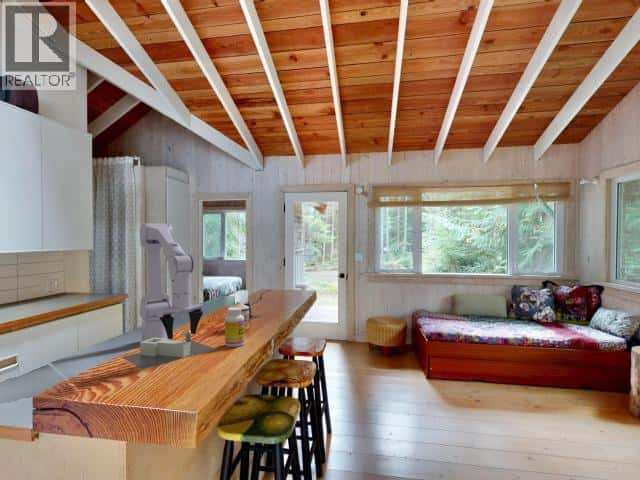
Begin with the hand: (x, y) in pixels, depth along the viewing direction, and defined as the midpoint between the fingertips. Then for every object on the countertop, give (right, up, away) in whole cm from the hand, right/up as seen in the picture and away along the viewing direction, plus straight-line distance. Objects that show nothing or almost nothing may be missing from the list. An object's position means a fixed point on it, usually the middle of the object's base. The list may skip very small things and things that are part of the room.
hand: (181, 335), depth 112 cm
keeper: (-2, -7, +8) cm, 11 cm away
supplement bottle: (+14, -7, +13) cm, 20 cm away
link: (-6, -6, +2) cm, 9 cm away
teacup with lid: (+10, -7, +39) cm, 40 cm away
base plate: (-5, -7, +3) cm, 9 cm away
